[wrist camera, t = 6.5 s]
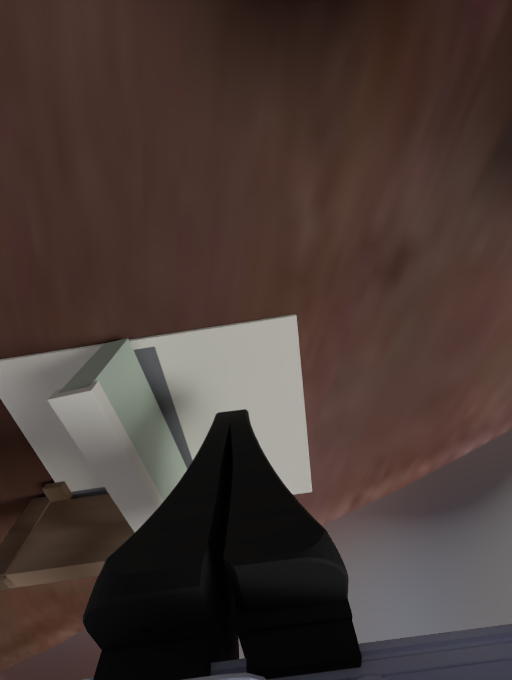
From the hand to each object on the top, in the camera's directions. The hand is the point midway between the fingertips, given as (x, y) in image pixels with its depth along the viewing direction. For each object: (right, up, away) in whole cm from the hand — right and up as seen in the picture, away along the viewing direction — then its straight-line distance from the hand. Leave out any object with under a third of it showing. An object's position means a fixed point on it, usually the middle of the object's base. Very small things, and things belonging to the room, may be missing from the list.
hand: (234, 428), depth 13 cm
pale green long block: (-5, -1, +4) cm, 6 cm away
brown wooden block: (-9, -6, +6) cm, 13 cm away
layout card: (-4, -2, +5) cm, 6 cm away
